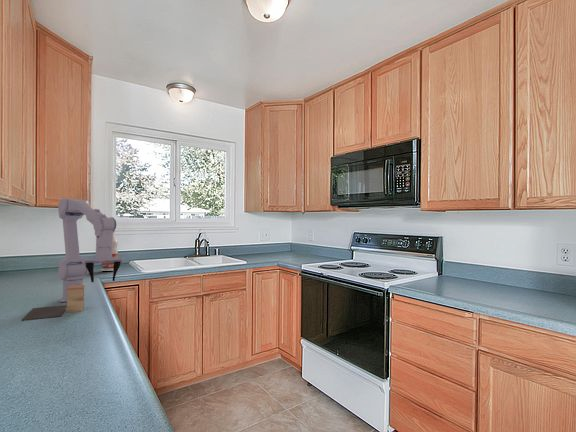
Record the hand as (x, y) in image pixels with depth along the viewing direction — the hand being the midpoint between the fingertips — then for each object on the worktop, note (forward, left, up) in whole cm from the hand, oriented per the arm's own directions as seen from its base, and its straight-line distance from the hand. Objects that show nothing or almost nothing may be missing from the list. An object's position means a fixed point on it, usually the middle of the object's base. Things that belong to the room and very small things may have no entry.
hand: (103, 281), depth 126 cm
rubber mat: (0, -18, -10) cm, 21 cm away
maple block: (0, -9, -10) cm, 14 cm away
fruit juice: (-99, 0, -11) cm, 100 cm away
